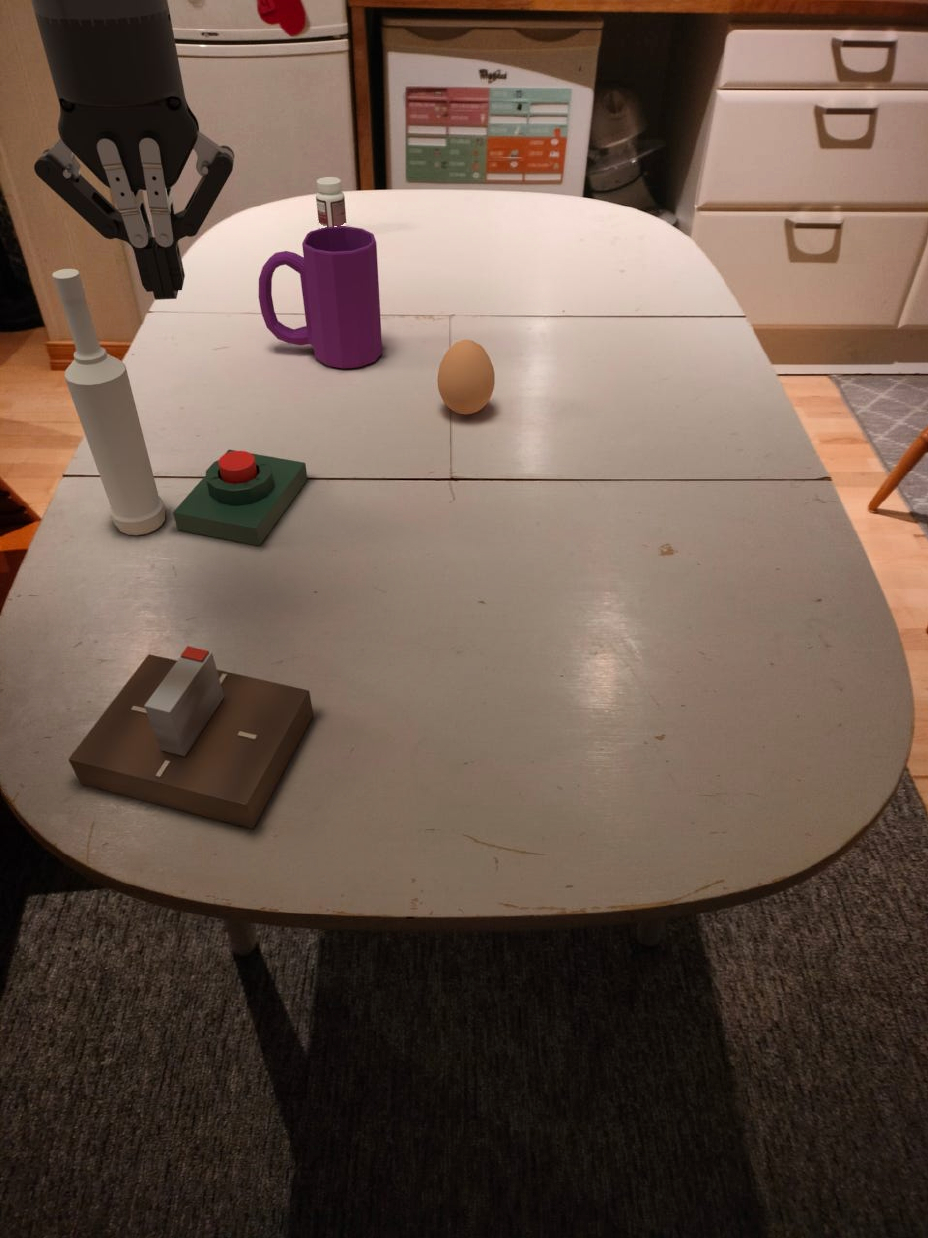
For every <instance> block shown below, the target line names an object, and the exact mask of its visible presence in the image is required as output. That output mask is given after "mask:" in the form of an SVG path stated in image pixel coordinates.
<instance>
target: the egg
mask: <svg viewBox="0 0 928 1238" xmlns="http://www.w3.org/2000/svg"><path fill="white" fill-rule="evenodd" d="M436 381H437V390H438V393H439V395H440V397H441V400H442V401H443V403H444V404H445V406H447V408H449V410H452V411H453V412H455V413H457V414H460V415H472V414H474V413H477V412H478V411H480V410H482V409H483V408H484V407H485V406H486V405H487V404H488V402H489V401H490V399H491V398H492V396H493V393H494V389H495V369H494V365H493V363H492V360H491V358H490V355H489V354H488V353H487V351H486V350H485V348H484V347H483V346H482V345H481V344H479V343H477V342H475V341H474V340H470V339H463V340H459V341H457V342H455V343H454V344H452V345H451V346H450V347H449V348H448V349H447V351H446V352H445V354H444V355H443V356H442V359H441V362H440V363H439V366H438V371H437V380H436Z"/></svg>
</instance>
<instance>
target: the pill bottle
mask: <svg viewBox="0 0 928 1238" xmlns="http://www.w3.org/2000/svg"><path fill="white" fill-rule="evenodd" d="M316 188H317V193H316V194H315V201H316V210H317V221H319V222H318V224H319V223H320V224H321V225H323V226H327V227H334V226H341V225H343V224H344V223H347V212H346V200H345V197H346V196H345V193H344V192H343V191H342V190H343V189H342V188H343V187H342V179H340V178H339V177H335V176H325V177H320V178H318V179H317V180H316Z"/></svg>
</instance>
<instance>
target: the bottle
mask: <svg viewBox="0 0 928 1238" xmlns="http://www.w3.org/2000/svg"><path fill="white" fill-rule="evenodd" d="M52 279H53V283H54V285H55V288H56V289H55V290H56V292H57V296H58V298H59V300H60V302H61V305H62V308H63V312H64V316H65V318H66V321H67V325H68V329H69V331H70V334H71V339H72V341H73V344H74V347H75V351H74V352H73V358H74V359H73V360H72V362H71V363H70V364H69V365H68V367H67V368H66V369H65V370H64V376H63V377H64V379H65V383H66V386H67V388H68V391H69V393H70V397H71V400H72V402H73V405H74V407H75V411H76V414H77V416H78V419H79V423H80V424H81V427H82V430H83V432H84V436H85V437H86V438H85V439H86V441H87V444H88V446H89V450H90V452H91V455H92V458H93V461H94V464H95V466H96V469H97V472H98V475H99V477H100V480H101V483H102V486H103V489H104V491H105V495H106V497H107V499H108V503H109V506H110V508H109V514H110V517H111V520H112V522H113V523H114V525H115V526H116V527H117V529H118V530H119V532H121V533H123V534H125V535H130V536H140V535H141V536H142V535H147V534H150V533H153V532H155V531H156V530H157V529H159V528H160V527H162V525H163V524H164V522H165V521H166V510H165V503H164V499H162V498H161V496H160V495H159V492H158V488H157V484H156V480H155V476H154V472H153V469H152V464H151V460H150V456H149V453H148V448H147V444H146V441H145V436H144V433H143V429H142V424H141V421H140V417H139V413H138V410H137V405H136V402H135V401H136V400H135V397H134V394H133V389H132V386H131V381H130V377H129V374H128V370H127V367H126V366H127V365H126V364H125V362H123V361H122V360H120V359H119V358H117V357H115V356H113V355H111V354H109V353H107V350H106V349H105V348H104V347H103V346H101V344H100V340H99V338H98V334H97V331H96V328H95V324H94V321H93V318H92V314H91V310H90V307H89V303H88V301H87V297H86V291H85V287H84V285H83V281H82V278H81V274H80V271H79V270H77V269H75V268H63V269H59V270H55V271H54V272H53V273H52Z"/></svg>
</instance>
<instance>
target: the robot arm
mask: <svg viewBox="0 0 928 1238" xmlns="http://www.w3.org/2000/svg"><path fill="white" fill-rule="evenodd" d="M30 1H31V2H30V3H31V5H32V8H33V12H34V17H35V20H36V24H37V27H38V30H39V35H40V38H41V42H42V45H43V50H44V53H45V57H46V60H47V64H48V67H49V71H50V75H51V78H52V82H53V86H54V90H55V93H56V97H57V100H58V105H59V118H58V122H57V131H58V136H59V139H58V140H57V141H56V142H55V143H54V144H53V145H52V146H51V148H47V149H45V150H44V151H42V153H41V154H40V156H39V157H38V159H37V160H36V161H35V163H34V166H33V169H34V172H35V175H36V176H37V178H39V179H40V180H41V181H42V182H44V183H45V184H46V185H47V186H48V187H49V188H50V189H51V190H52V191H54V192H55V193H56V195H58V196H59V197H60V198H61V200H63V201H64V202H65V203H66V204H67V205H69V206H70V207H71V208H72V209H73V210H74V211H75V212H76V213H77V214H78V215H79V216H80V217H82V218H83V219H84V220H85V221H86V222H87V223H88V224H89V225H90V226H91V227H92V228H93V229H94V230H96V231H97V232H98V233H99V234H100V235H101V236H102V237H103V238H105V239H107V240H114V239H116V240H121V241H124V242H126V243H127V244H128V245H130V246H131V249H132V250H133V253H134V259H135V261H136V265H137V266H136V267H137V269H138V273H139V278H140V281H141V285H142V287H143V288H144V290H145V291H146V293H152V294H153V297H154V300H155V301H160V300H161V301H163V300H177V298H178V295H179V291H183V287H184V282H185V278H186V275H185V274H186V273H185V269H184V264H183V259H182V255H181V250H180V246H179V241H180V240H182V239H183V238H186V237H187V238H188V237H189V238H192V237H195V236H196V235H197V234H198V233H199V231H200V229H201V228H202V226H203V224H204V222H205V220H206V218H207V217H208V215H209V213H210V211H211V210H212V208H213V206H214V204H215V203H216V201H217V199H218V198H219V195H220V194H221V192H222V190H223V188H224V187H225V185H226V183H227V181H228V179H230V177H231V174H232V172H233V171H234V164H235V152H234V150H233V149H232V148H231V147H230V146H228V145H219V144H217V143H216V142H215V141H213V140H212V139H211V138H209V137H208V136H207V135H205V134H204V133H202V132H201V131H200V125H199V121H198V119H197V116H196V115H195V114H194V113H193V111H192V109H191V108H190V106H189V104H188V101H187V99H186V95H185V94H186V93H185V89H184V84H183V83H184V82H183V78H182V77H183V76H182V73H181V72H182V71H181V67H180V61H179V56H178V55H179V54H178V51H177V45H176V40H175V34H174V29H173V23H172V18H171V13H170V7H169V2H168V0H30ZM193 150H194V152H195V153H196V157H197V158H196V163H195V170H196V171H197V174H199V175H200V176H201V178H200V179H199V181H198V183H197V185H196V187H195V189H194V191H193V192H192V194H191V196H190V198H189V199H188V201H187V203H186V205H185V207H184V209H182V210H180V211H178V212H176V211H175V203H174V188H173V187H174V186H175V185H176V184H177V182H178V181H179V179H180V177H181V175H182V174H183V173H182V172H183V170H184V169H185V166H186V164H187V162H188V160H189V158H190V156H191V154H192V152H193ZM78 160H79V161H80V162H81V163H82V164H83V165H84V166H85V167H86V168H87V169H88V170H89V171H90V172H91V173H92V174H93V175H94V176H95V177H96V178H97V179H98V181H100V182H101V183H102V185H104V186H105V187H107V188H109V189H110V190H111V193H112V196H113V199H114V203H115V205H116V206H115V205H113V204H112V203H111V202H110V201H109V200H108V199H107V198H106V197H105V196H104V195H103V194H102V193H101V192H100V191H98V189H96V188H95V187H94V185H92V184H91V183H90V182H89V181H88V180H87V179H86V178H85V177H84V176H83V175H82V174H81V172H82V166H81V164H80V162H79V161H78ZM144 191H145V192H146V197H147V202H148V204H147V205H148V209H149V211H150V215H151V219H152V220H150V216H149V213H148V209H147V206H146V201H145V196H144ZM153 234H154V236H153Z"/></svg>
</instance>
